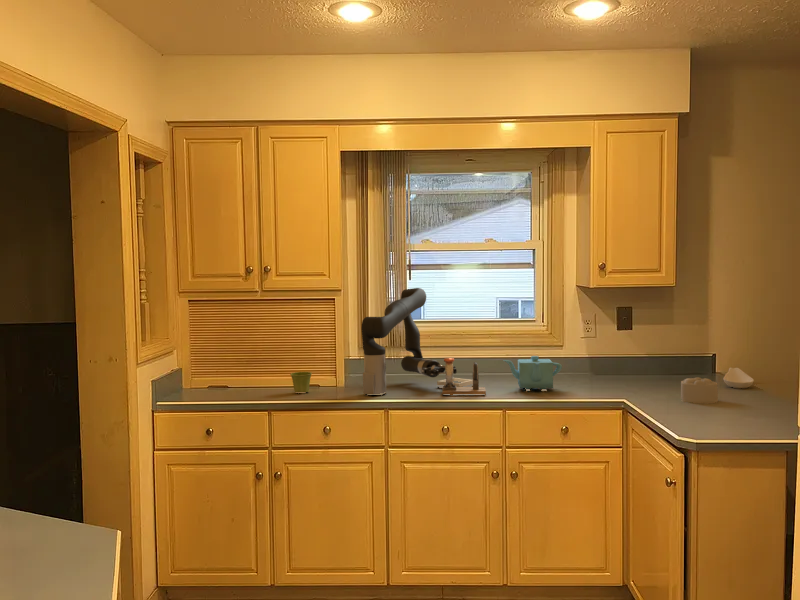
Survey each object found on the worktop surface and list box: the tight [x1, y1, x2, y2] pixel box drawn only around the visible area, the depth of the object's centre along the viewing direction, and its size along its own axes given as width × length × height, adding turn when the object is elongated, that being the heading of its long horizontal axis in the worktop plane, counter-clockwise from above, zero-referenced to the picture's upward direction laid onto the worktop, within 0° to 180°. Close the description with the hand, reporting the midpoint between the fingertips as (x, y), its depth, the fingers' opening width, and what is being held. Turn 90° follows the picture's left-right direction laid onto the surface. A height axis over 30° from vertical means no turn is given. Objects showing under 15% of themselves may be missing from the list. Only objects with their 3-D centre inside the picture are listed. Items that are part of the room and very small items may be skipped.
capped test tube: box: [443, 357, 455, 387], centre depth 303 cm, size 4×4×13 cm
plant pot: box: [290, 371, 313, 393], centre depth 314 cm, size 9×9×9 cm
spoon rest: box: [722, 367, 755, 389], centre depth 311 cm, size 24×12×7 cm, turn 165°
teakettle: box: [503, 355, 563, 390], centre depth 309 cm, size 19×19×15 cm
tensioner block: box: [441, 361, 487, 395], centre depth 303 cm, size 10×18×13 cm, turn 85°
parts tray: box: [436, 377, 473, 387], centre depth 321 cm, size 12×12×3 cm
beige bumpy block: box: [680, 376, 719, 404], centre depth 277 cm, size 10×13×9 cm
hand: (446, 372), depth 305 cm, fingers open, 8 cm apart
